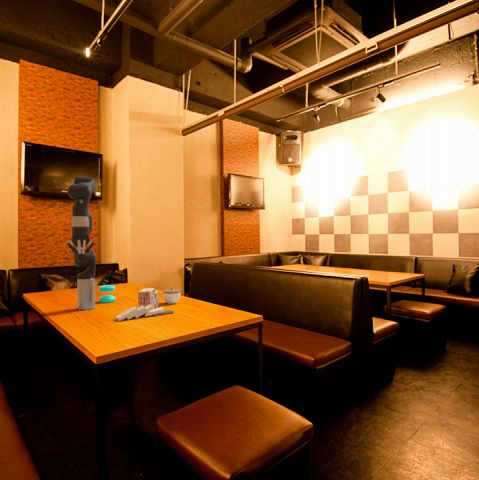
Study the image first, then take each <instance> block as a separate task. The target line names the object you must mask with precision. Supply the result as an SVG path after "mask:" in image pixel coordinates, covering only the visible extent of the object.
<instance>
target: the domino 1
mask: <svg viewBox="0 0 479 480" xmlns="http://www.w3.org/2000/svg"><path fill="white" fill-rule="evenodd" d="M137 311H138V309H137V307H136V306H134V305H133V306H132V307H129V308H128V309H126V310H124V311H123V312H120V313H119V314H117V315H115V319H116V320H117V321H119V322H121V321H123V320H125V319H126V317H128V316H130V315H132V314H133V313H135V312H137Z"/></svg>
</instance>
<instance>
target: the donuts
mask: <svg viewBox="0 0 479 480" xmlns="http://www.w3.org/2000/svg"><path fill="white" fill-rule="evenodd" d="M115 290H116V286H115V285H114V284H113V285H112V284H106V285H100V286H99V287H98V291H99V292H101V293H110V292H111V293H112V292H113V291H115ZM115 301H116V296H114V295H111V294H109V295H101V296H100V297H98V302H99V303H104V304H107V303H112V302H115Z"/></svg>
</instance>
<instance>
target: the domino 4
mask: <svg viewBox="0 0 479 480" xmlns="http://www.w3.org/2000/svg"><path fill="white" fill-rule="evenodd" d="M165 311H166V310H165V308H164V307H162V306H161V307H157V308H156V309H152V310H150V311H148V312H147V313H145V314H143V315H142V316H144V317H150V316H154V314H158V313H162V312H165Z"/></svg>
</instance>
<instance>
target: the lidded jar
mask: <svg viewBox="0 0 479 480" xmlns="http://www.w3.org/2000/svg"><path fill="white" fill-rule="evenodd" d="M162 296H163V299H164V301H165V303H166V304H167V303H168V304H169V305H170V304H171V305H174V303H175V304H177V303H178V302H179V300H180V298H181V289H177V288H173V287H170V288H169V289H164V290H162Z"/></svg>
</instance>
